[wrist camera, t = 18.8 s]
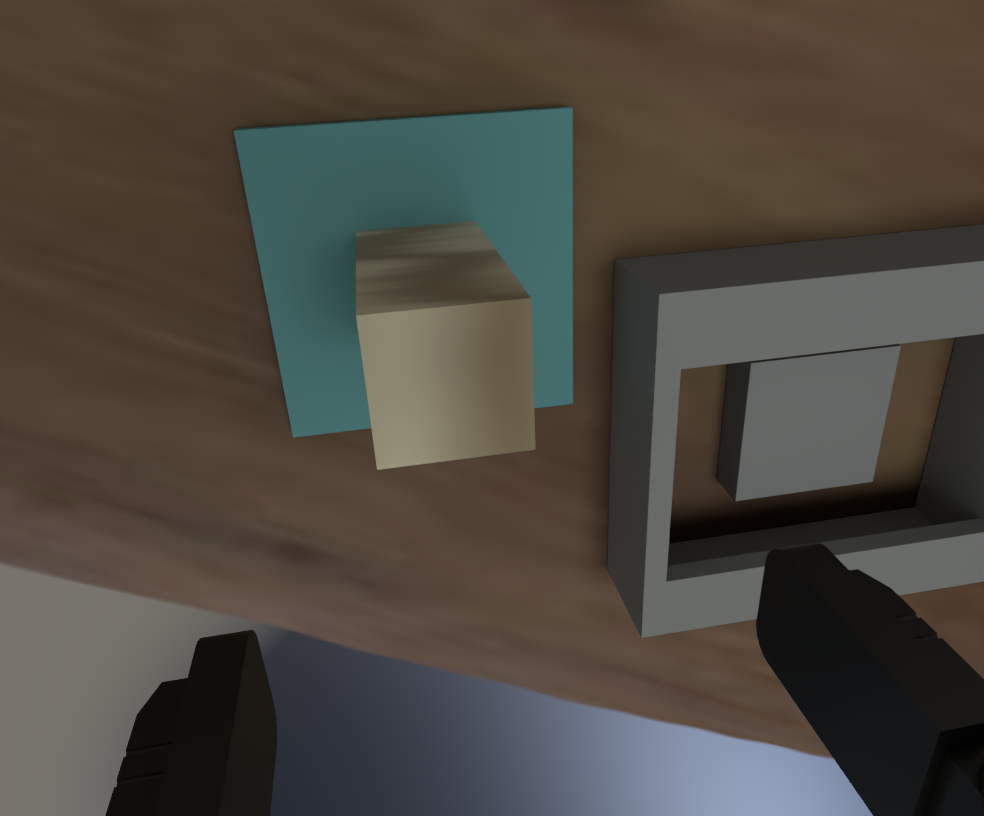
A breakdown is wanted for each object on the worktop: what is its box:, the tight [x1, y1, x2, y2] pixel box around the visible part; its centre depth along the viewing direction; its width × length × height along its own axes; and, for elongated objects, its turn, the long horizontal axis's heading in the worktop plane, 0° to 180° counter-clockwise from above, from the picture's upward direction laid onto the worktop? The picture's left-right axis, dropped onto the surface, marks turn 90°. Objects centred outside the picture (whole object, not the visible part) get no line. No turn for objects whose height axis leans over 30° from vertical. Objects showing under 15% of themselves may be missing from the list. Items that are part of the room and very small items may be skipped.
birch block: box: [356, 221, 535, 470], centre depth 24 cm, size 4×4×10 cm
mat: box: [234, 106, 573, 437], centre depth 29 cm, size 12×12×1 cm
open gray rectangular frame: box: [607, 224, 984, 638], centre depth 33 cm, size 18×16×5 cm
